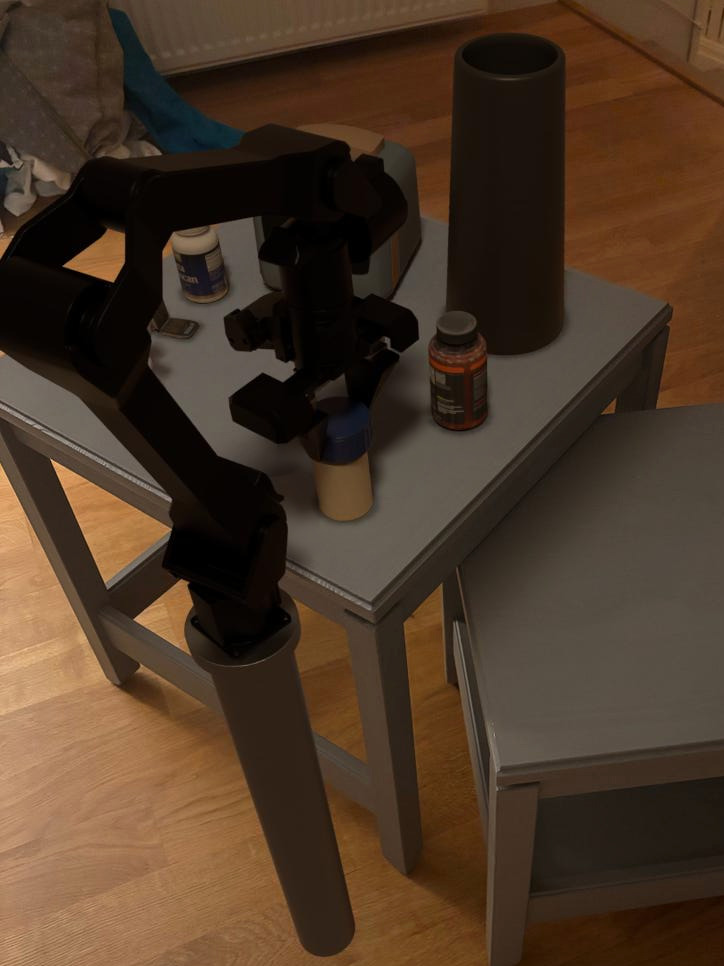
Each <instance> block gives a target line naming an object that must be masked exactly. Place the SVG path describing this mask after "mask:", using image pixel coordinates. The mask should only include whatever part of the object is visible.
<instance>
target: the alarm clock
mask: <svg viewBox="0 0 724 966" xmlns="http://www.w3.org/2000/svg"><path fill="white" fill-rule="evenodd" d="M296 129H297V130H301V131H305V132H309V133H313V134H317V135H321V136H325V137H329V138H333V139H337V140H341V141H345V142H346V143H347V144H349V146H350V148H351V151H350V155H351V160H352V161H355V159H356V158H358V157H359V156H360V155H361V154H362V153H364V154H368V155H372V156H376V157H380V158H383V159H384V171H385V172H386V173H387V174H389V175H390V176H391V177H392V178H393V179H394V180H395V181H396V183H397V184H398V185H399V187H400V188H401V190H402V192H403V194H404V197H405V199H406V200H407V202H408V216H407V219H406V222H405V223H404V224H403V226H402V227H401V228H400V229H399V230H398V231H397V232H396V233H395V234H394V235H393V236H392V237H391V238H390V239H389V240H388V241H386V242H385V243H384V244H383V245H382V246H381V247H380V248H379V249H378V250H377V251H376V252H375V253H374V254H373V255H372V256H371V257H370V258H369V259H368V260H366V261H364V262H362V263H358V264H357V263H351V270H352V280H353V290H354V295H355V296H357V297H359V298H362V299H364V298H365V297H367V296H368V295H370V294H371V293H372V294H375V295H377V296H379V297H382V298H384V299H388V298H389V297H390V296H392V294H393V292H394V289H395V288H396V286H397V284H398V283H399V280H400V278H401V277H402V275H403V273H404V271H405V269H406V267H407V265H408V263H409V261H410V259H411V257H412V255H413V254H414V252H415V250H416V248H417V246H418V244H419V242H420V240H421V235H422V221H421V211H420V199H419V188H418V186H419V185H418V176H417V163H416V159H415V156H414V154H413V152H412V151H411V150H409V148H408V147H406V146H405V145H403V144H401V143H399V142H397V141H391V140H388V139H385V136H384V135H383V134H380V133H377V132H374V131H371V130H368V129H365V128H360V127H357V126H351V125H345V124H337V123H313V124H306V125H305V124H304V125H299V126H297V128H296ZM289 219H290V217H285V216H280V215H273V214H268V215H262V216H257V217H252V223H253V230H254V237H255V245H256V252H257V253H258V252H259V250H260V247H261V245H262V243H263V242H264V241H265V240H266V239H267V238H268V237H269V235H270V233H271V230H272V227H273V226H274V225H276V226H280V227H281V226H282V225H283V224H284V223H285V222H286V221H288V220H289ZM257 259H258V258H257ZM258 265H259V266H258V267H259V273H260V276H261V278H262V280H263V281H264V282H265V284H266V285H267V286H268V287H270V288H272V289H274V290H277V291H278V290H279V291H282V288H281V282H280V276H279V270H278V266H277V265H273V264H270V263H267V262H263V261H260V260H259V259H258Z"/></svg>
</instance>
